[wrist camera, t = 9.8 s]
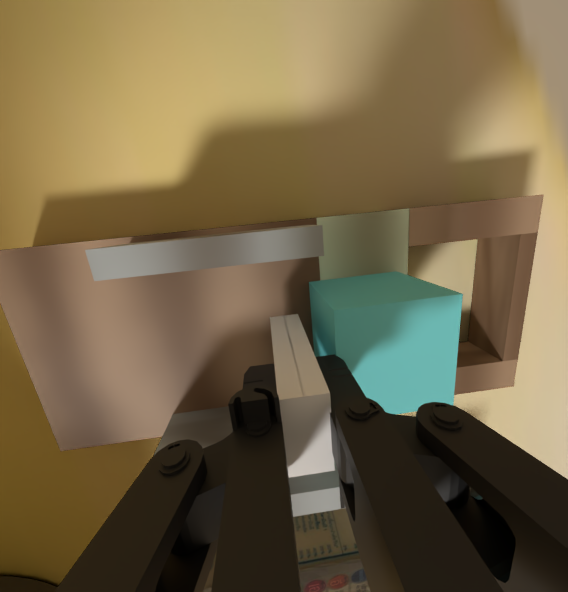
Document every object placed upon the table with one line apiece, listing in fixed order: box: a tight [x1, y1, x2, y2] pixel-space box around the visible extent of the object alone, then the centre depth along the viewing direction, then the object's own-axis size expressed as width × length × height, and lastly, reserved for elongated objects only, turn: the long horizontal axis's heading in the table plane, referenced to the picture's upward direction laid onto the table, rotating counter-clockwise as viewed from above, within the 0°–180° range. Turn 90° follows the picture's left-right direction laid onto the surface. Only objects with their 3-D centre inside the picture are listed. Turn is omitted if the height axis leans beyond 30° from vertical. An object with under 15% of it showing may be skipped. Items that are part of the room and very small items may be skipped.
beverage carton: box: [203, 508, 370, 592], centre depth 20 cm, size 8×19×7 cm, turn 95°
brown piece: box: [0, 195, 543, 517], centre depth 14 cm, size 29×12×9 cm, turn 96°
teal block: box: [309, 271, 463, 414], centre depth 13 cm, size 5×5×5 cm
